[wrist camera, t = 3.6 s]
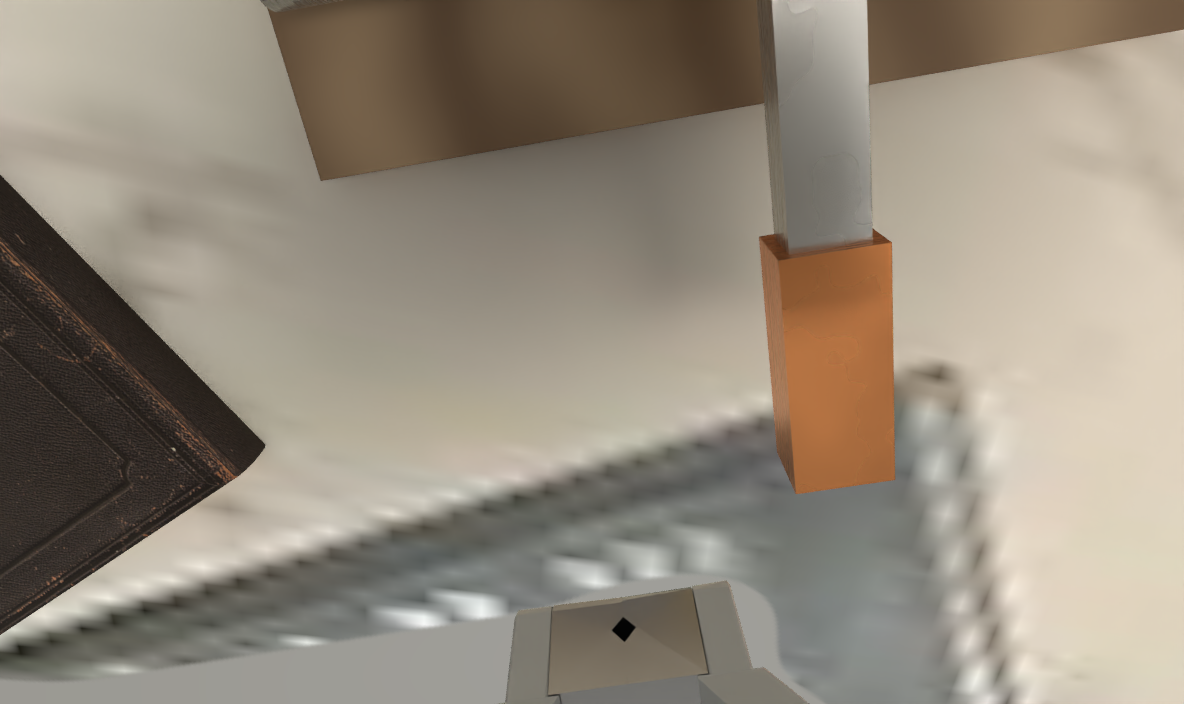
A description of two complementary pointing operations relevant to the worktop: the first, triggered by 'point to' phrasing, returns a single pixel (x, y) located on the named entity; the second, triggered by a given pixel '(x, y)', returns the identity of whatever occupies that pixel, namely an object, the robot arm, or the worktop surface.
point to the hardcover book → (90, 420)
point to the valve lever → (825, 250)
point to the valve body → (293, 4)
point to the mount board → (611, 63)
